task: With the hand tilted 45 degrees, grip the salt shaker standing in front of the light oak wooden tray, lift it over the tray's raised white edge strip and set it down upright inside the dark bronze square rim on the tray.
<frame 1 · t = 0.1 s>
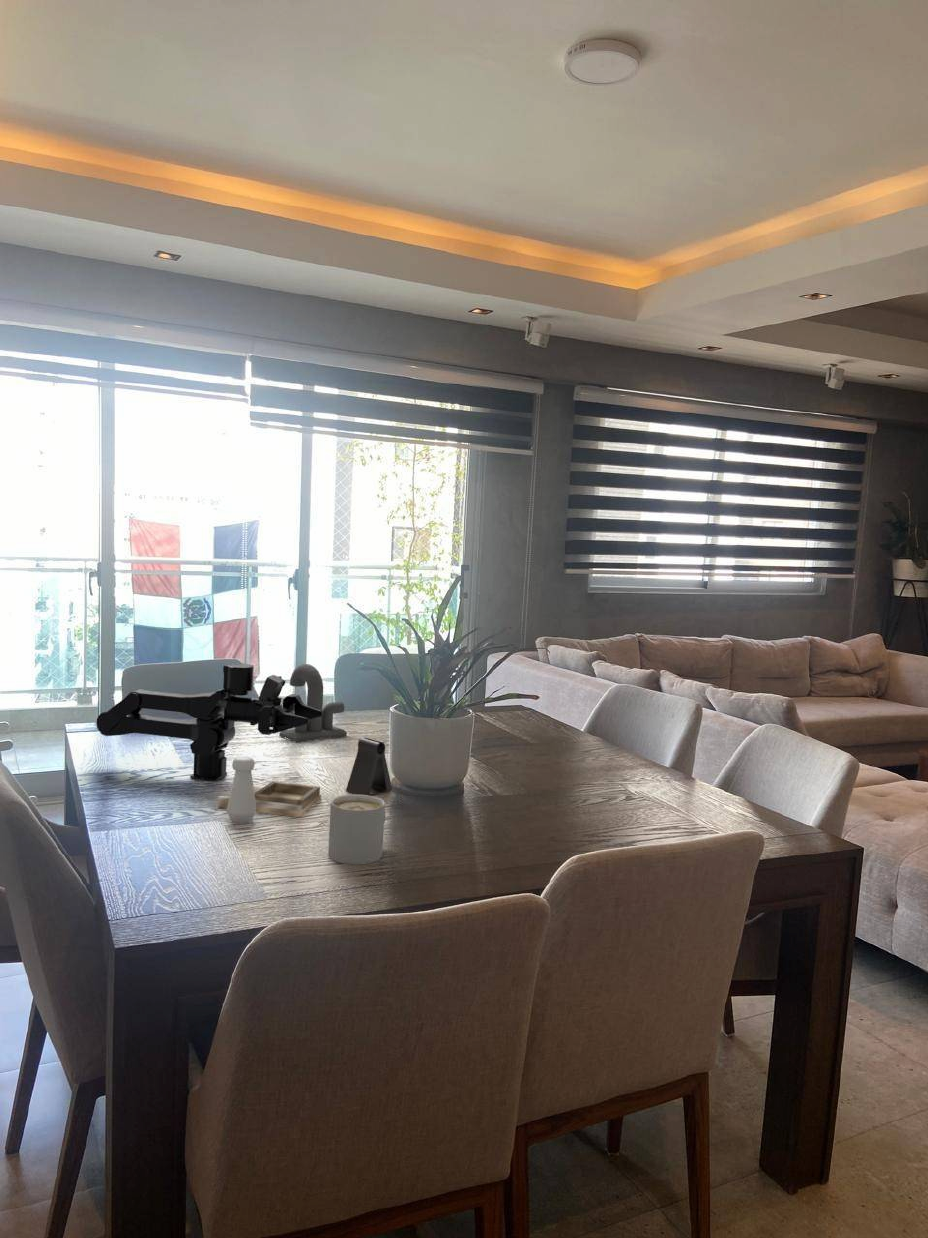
hand: (315, 717, 212), 17 cm above the table, tool horizontal, fingers open, 9 cm apart
coffee mug: (361, 853, 174), on the table
salt shaker: (241, 821, 188), on the table
door stopper: (369, 792, 214), on the table
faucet: (306, 734, 268), on the table
wooden tray: (270, 803, 201), on the table
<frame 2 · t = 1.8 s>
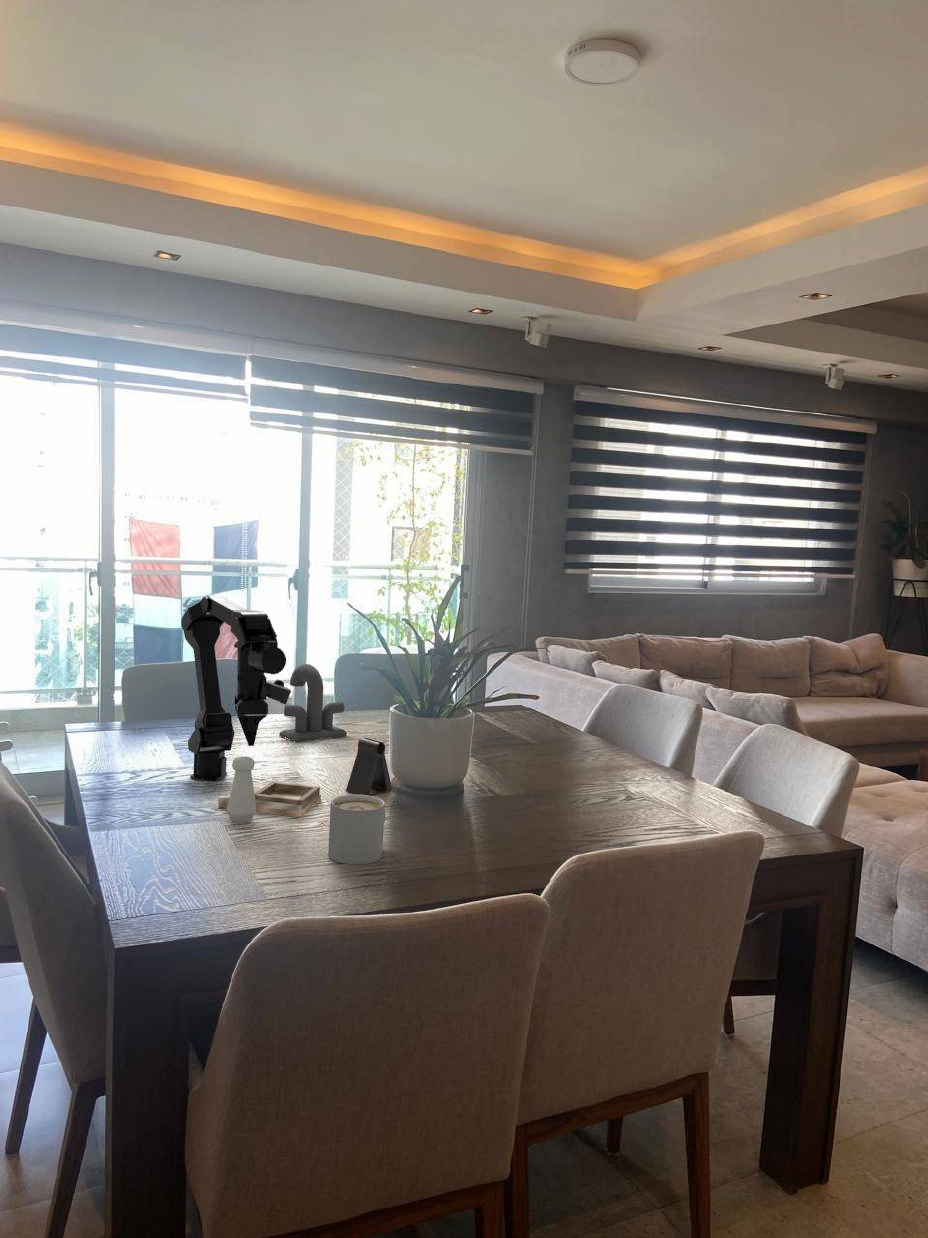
hand: (249, 742, 202), 13 cm above the table, tool pointing down, fingers open, 9 cm apart
nothing on the table moved.
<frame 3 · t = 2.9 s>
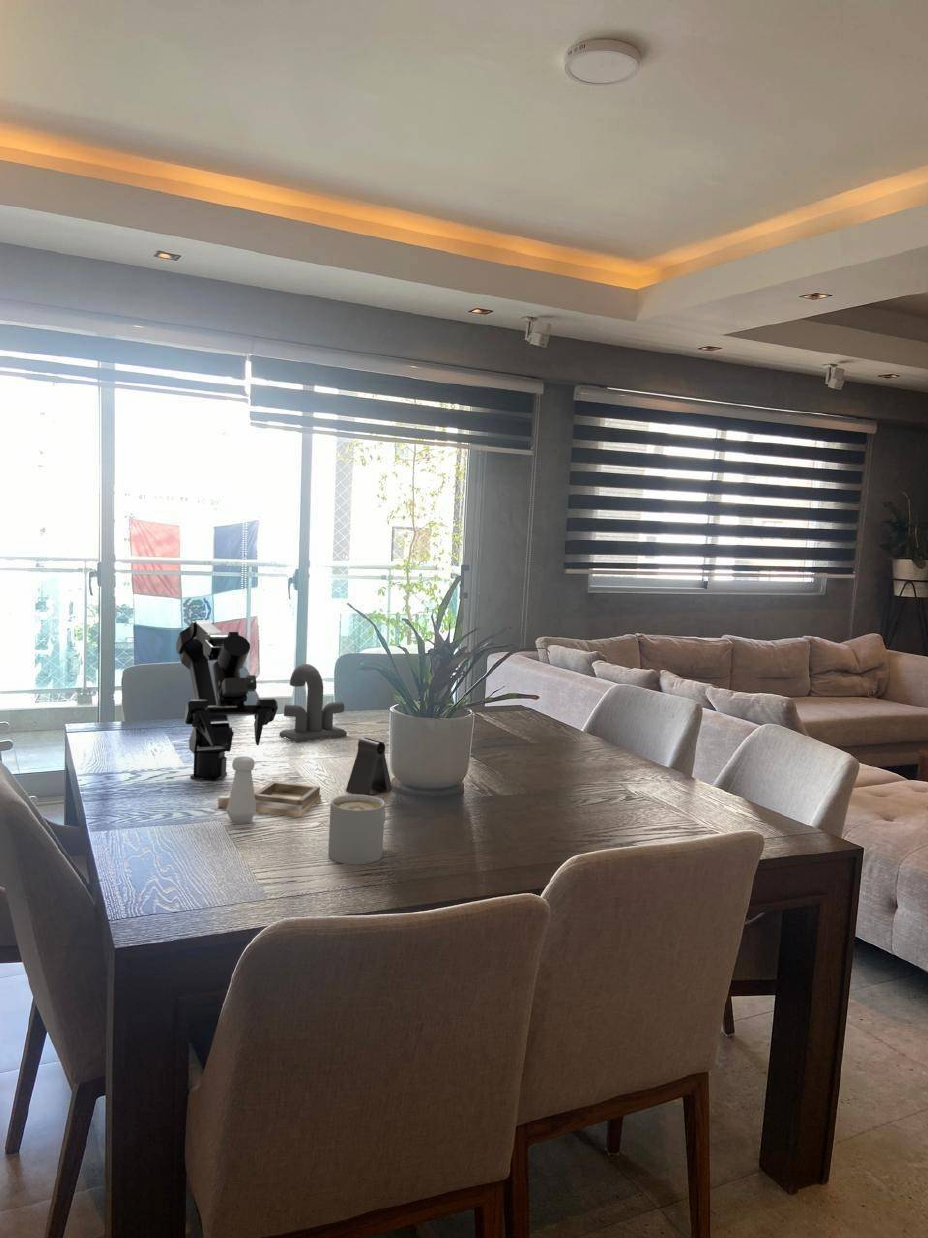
hand: (235, 745, 195), 13 cm above the table, tool tilted 45°, fingers open, 9 cm apart
nothing on the table moved.
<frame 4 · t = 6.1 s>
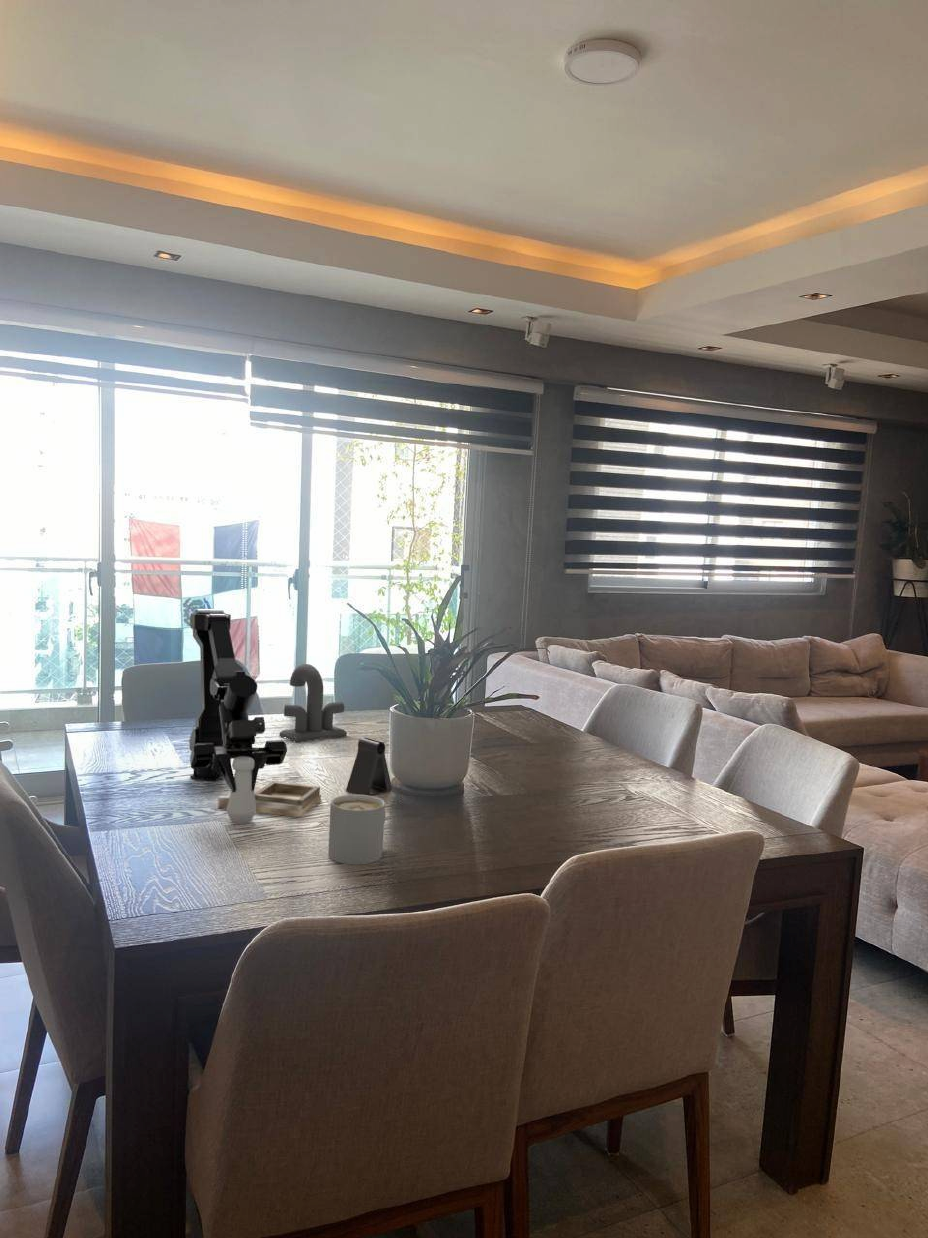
hand: (243, 791, 186), 7 cm above the table, tool tilted 45°, fingers closed on salt shaker, 3 cm apart
salt shaker: (241, 821, 188), on the table, touching gripper
everything else where it was.
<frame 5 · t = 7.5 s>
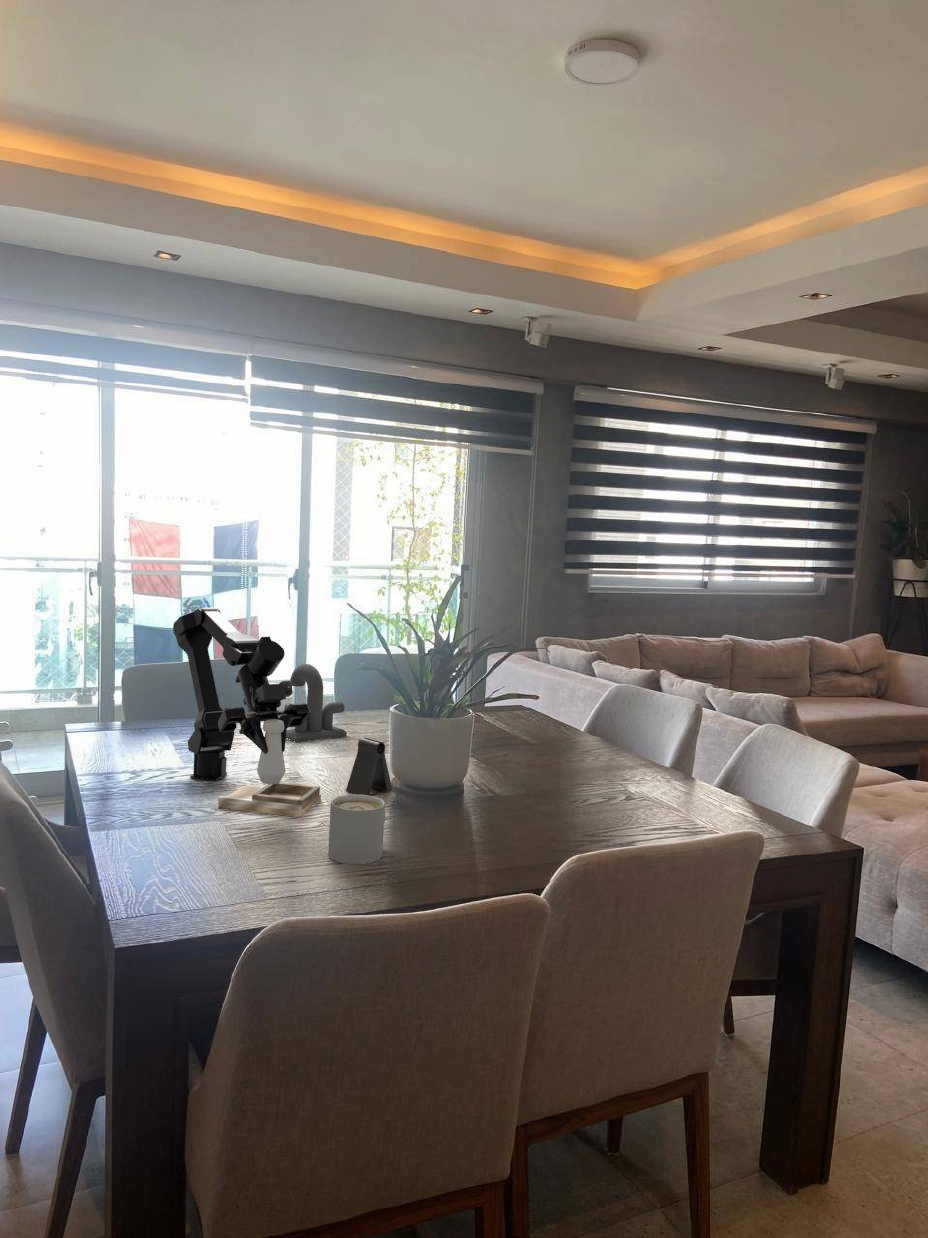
hand: (274, 752, 192), 13 cm above the table, tool tilted 45°, fingers closed on salt shaker, 3 cm apart
salt shaker: (270, 782, 194), point 6 cm above the table, touching gripper
everything else where it was.
when the fingers open (9 cm above the table, at t = 9.0 s): salt shaker stays where it is, resting on wooden tray.
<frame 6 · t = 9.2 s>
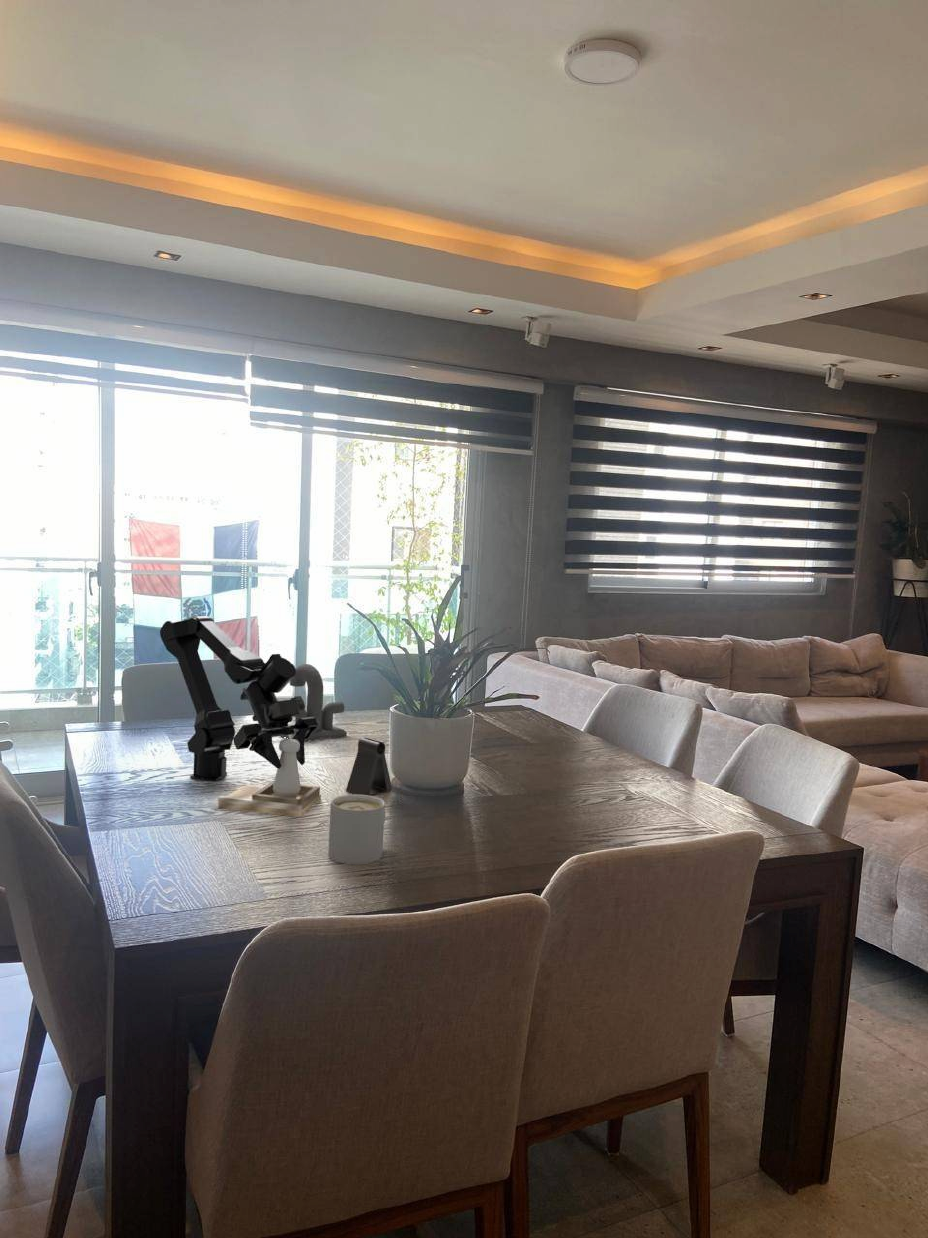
hand: (291, 765, 198), 9 cm above the table, tool tilted 45°, fingers open, 6 cm apart
salt shaker: (285, 800, 200), point 1 cm above the table, touching wooden tray
everything else where it was.
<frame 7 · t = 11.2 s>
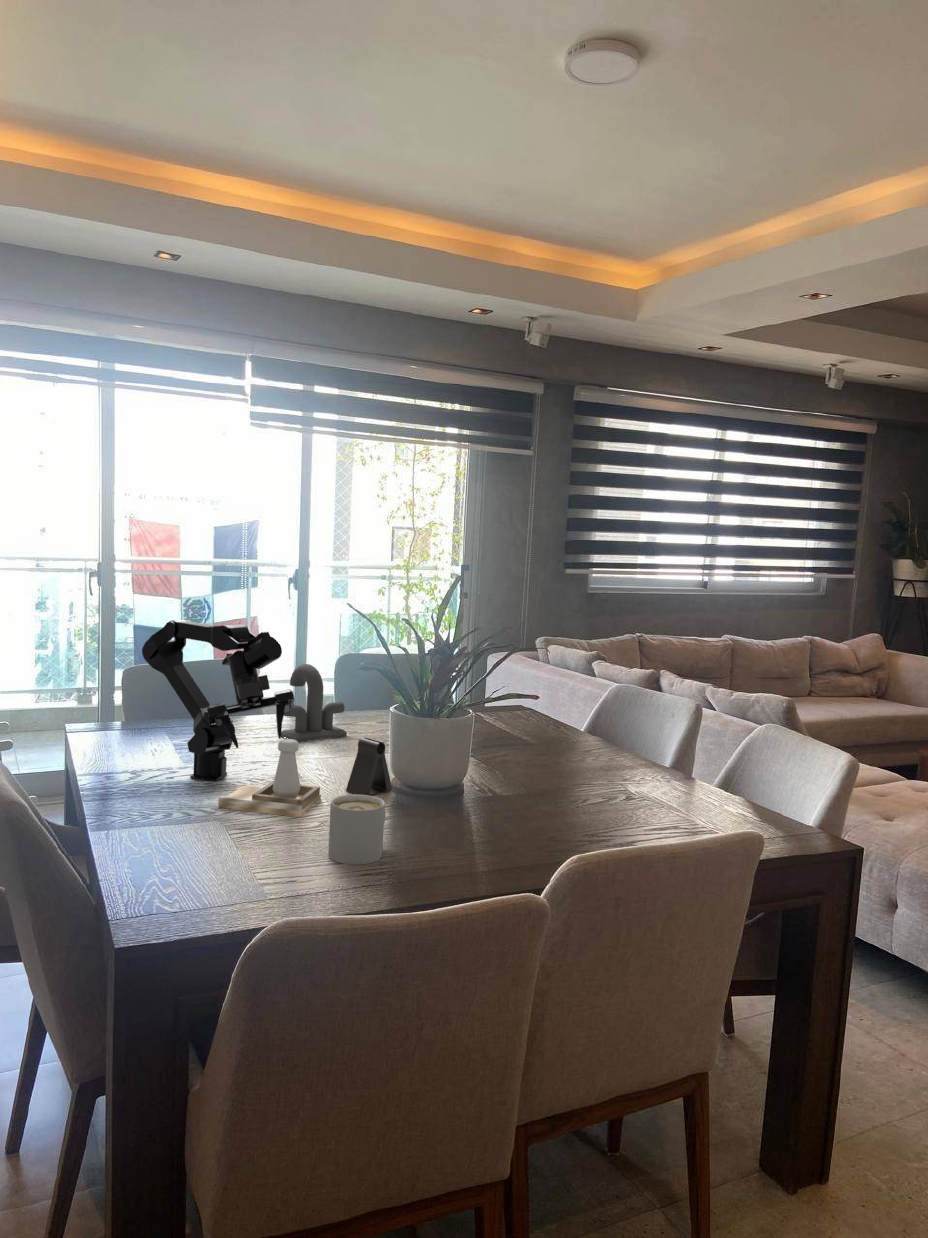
hand: (258, 743, 204), 12 cm above the table, tool tilted 30°, fingers open, 9 cm apart
nothing on the table moved.
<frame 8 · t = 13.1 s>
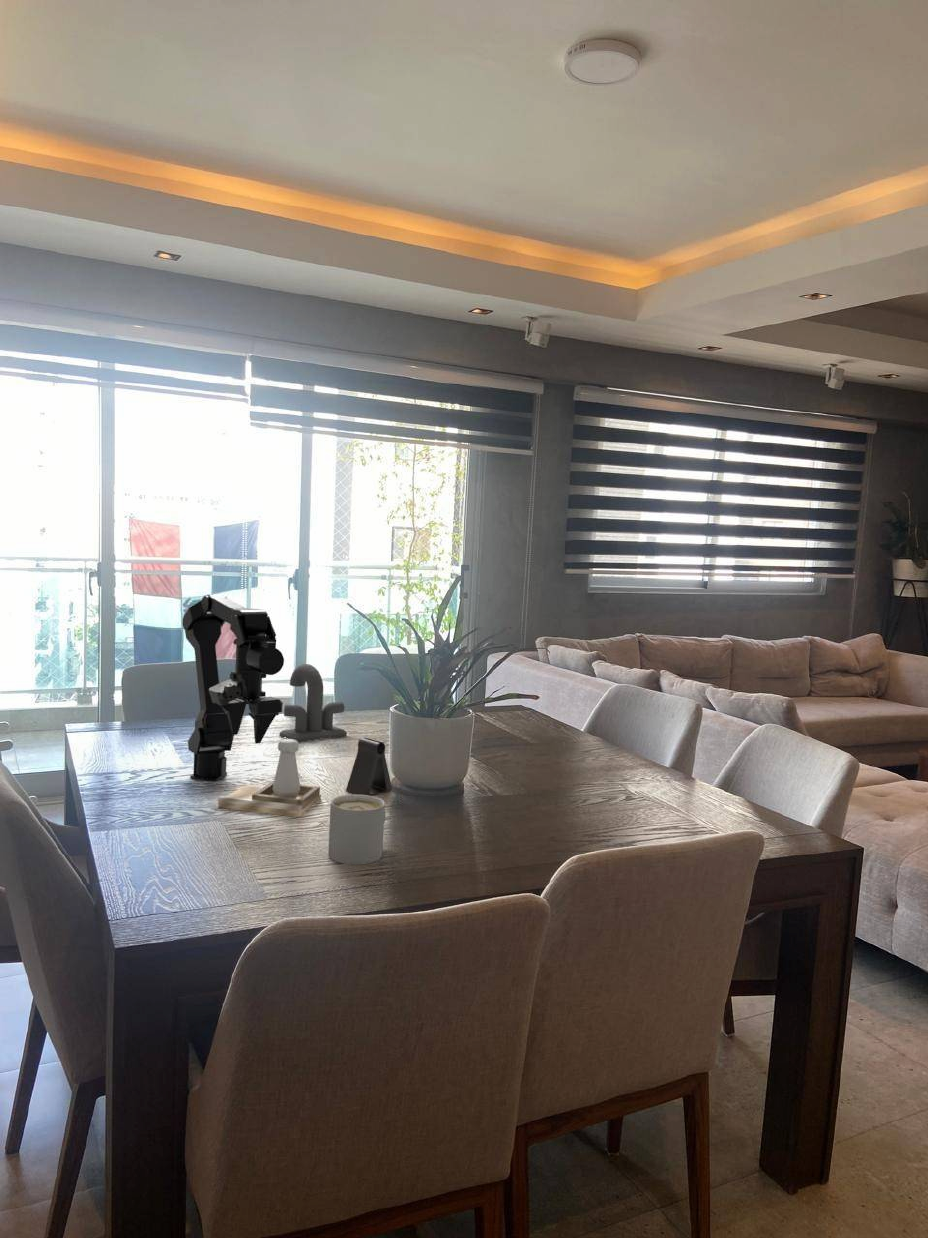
hand: (246, 738, 203), 13 cm above the table, tool pointing down, fingers open, 9 cm apart
nothing on the table moved.
at the end: salt shaker 0.3 cm from the target spot on the wooden tray, point 1.0 cm above the wooden tray's base; salt shaker tilted 0°; the gripper is holding nothing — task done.
